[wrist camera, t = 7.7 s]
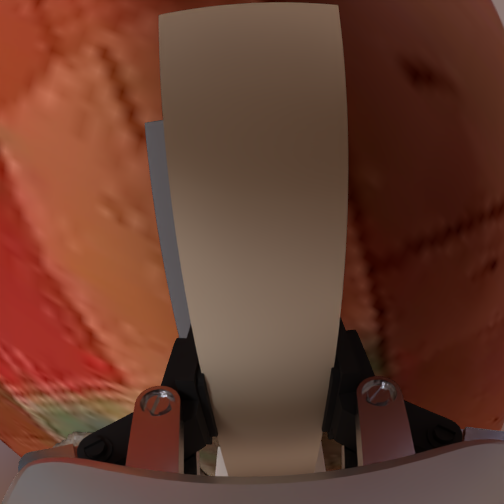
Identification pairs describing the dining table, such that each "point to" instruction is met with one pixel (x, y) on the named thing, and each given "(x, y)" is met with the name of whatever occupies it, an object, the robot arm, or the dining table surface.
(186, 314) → the mat
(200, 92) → the mottled beige bar
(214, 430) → the robot arm
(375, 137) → the dining table surface
